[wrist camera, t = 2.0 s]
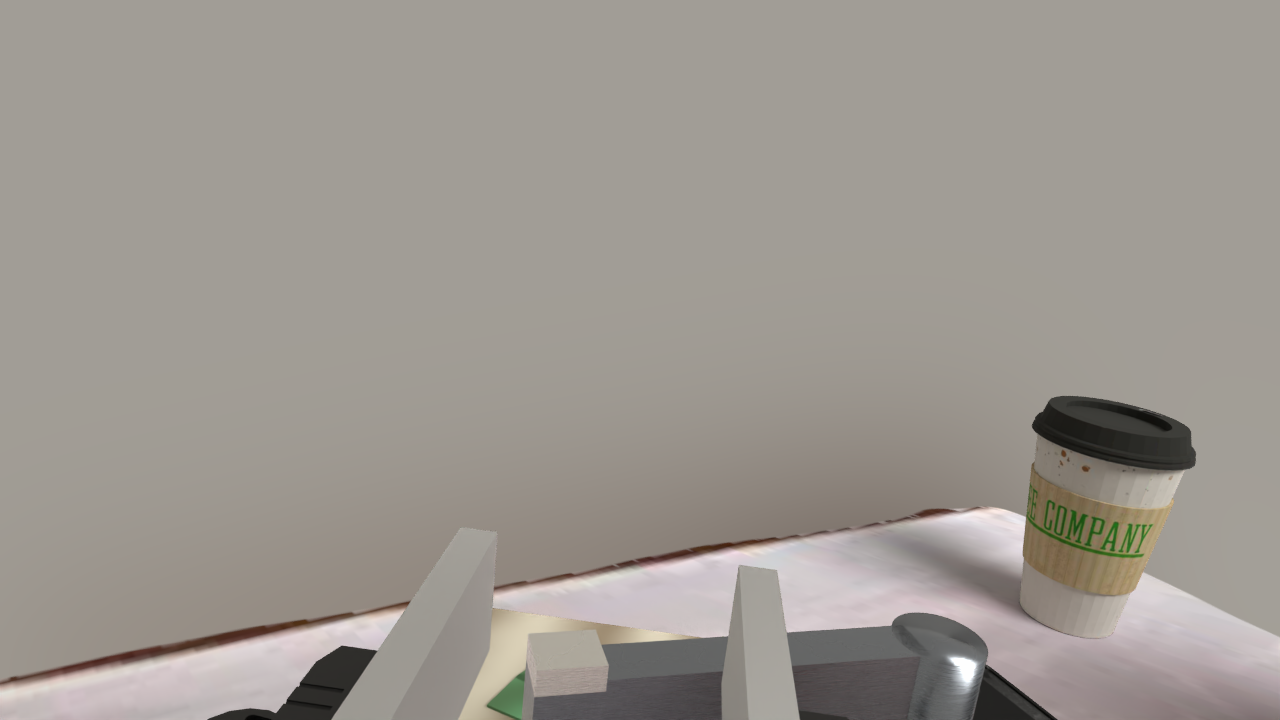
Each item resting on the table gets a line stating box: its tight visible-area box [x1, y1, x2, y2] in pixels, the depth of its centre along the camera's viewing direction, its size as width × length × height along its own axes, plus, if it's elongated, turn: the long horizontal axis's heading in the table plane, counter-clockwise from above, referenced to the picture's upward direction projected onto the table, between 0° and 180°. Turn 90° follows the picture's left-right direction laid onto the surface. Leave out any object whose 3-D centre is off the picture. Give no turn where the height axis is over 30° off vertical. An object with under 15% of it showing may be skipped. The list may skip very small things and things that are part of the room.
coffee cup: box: [1019, 396, 1196, 638], centre depth 58 cm, size 10×10×15 cm
